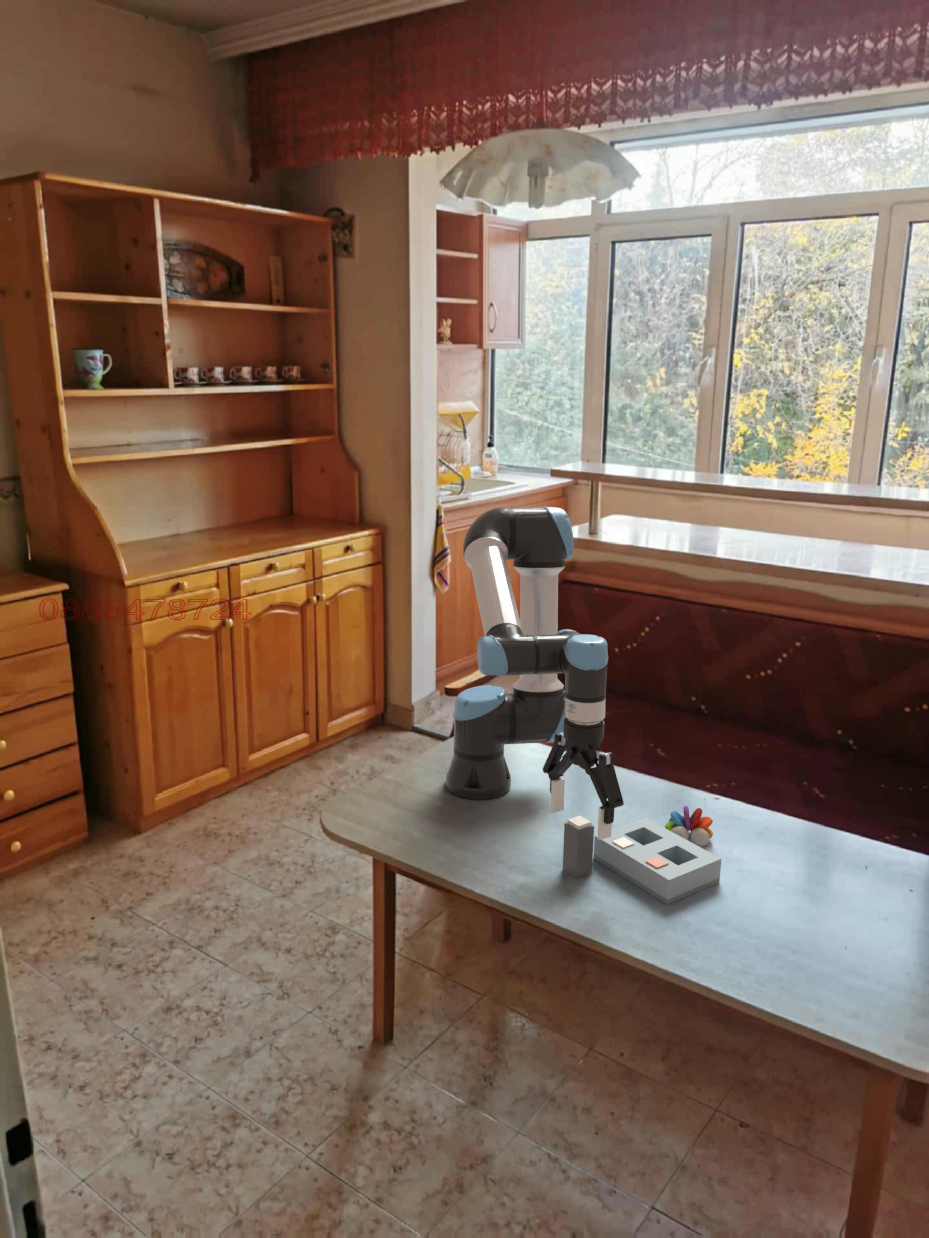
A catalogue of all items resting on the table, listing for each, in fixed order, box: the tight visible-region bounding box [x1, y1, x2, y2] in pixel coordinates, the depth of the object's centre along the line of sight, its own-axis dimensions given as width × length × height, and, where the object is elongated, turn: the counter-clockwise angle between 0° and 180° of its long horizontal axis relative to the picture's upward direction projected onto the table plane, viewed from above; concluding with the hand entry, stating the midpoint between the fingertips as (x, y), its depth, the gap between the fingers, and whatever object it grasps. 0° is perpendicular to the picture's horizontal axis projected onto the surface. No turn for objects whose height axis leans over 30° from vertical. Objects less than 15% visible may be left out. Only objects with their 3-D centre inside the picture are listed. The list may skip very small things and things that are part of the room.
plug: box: [562, 815, 595, 879], centre depth 180 cm, size 4×4×11 cm
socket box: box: [593, 817, 722, 905], centre depth 181 cm, size 20×14×5 cm
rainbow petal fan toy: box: [664, 805, 714, 848], centre depth 193 cm, size 8×10×7 cm
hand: (579, 823), depth 178 cm, fingers open, 13 cm apart
